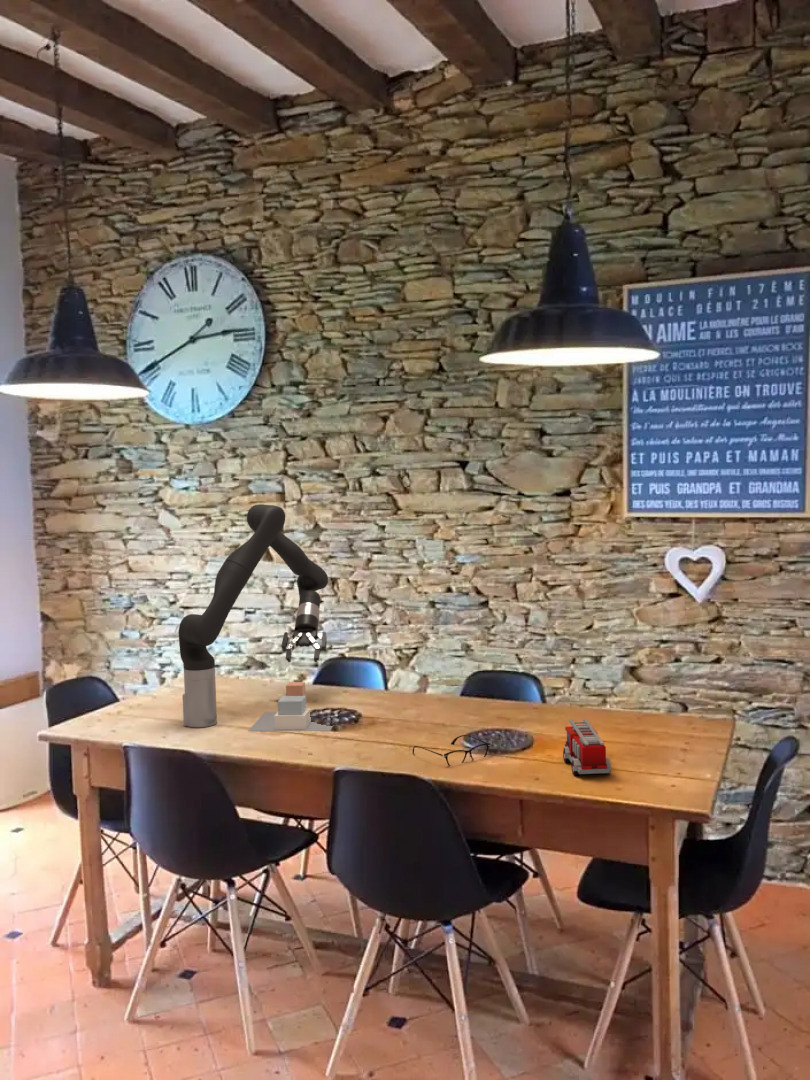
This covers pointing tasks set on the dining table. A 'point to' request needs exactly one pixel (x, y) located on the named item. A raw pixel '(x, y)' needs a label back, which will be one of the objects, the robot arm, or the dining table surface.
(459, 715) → the dining table surface
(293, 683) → the terracotta brick
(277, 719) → the tower base
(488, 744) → the eyeglasses
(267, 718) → the baseplate
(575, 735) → the toy fire truck
